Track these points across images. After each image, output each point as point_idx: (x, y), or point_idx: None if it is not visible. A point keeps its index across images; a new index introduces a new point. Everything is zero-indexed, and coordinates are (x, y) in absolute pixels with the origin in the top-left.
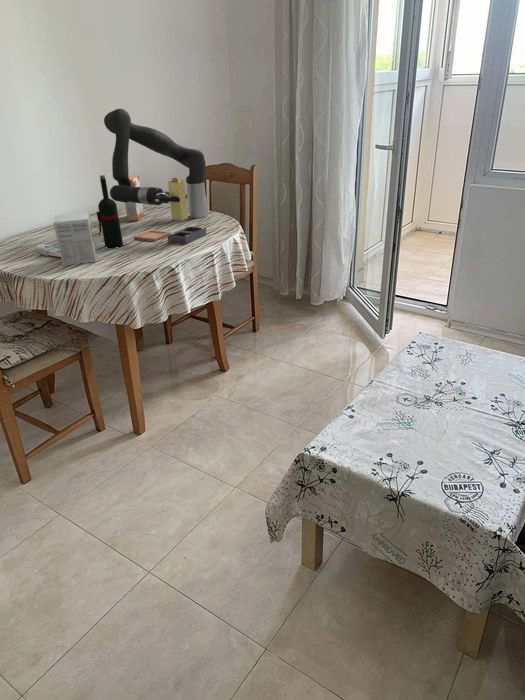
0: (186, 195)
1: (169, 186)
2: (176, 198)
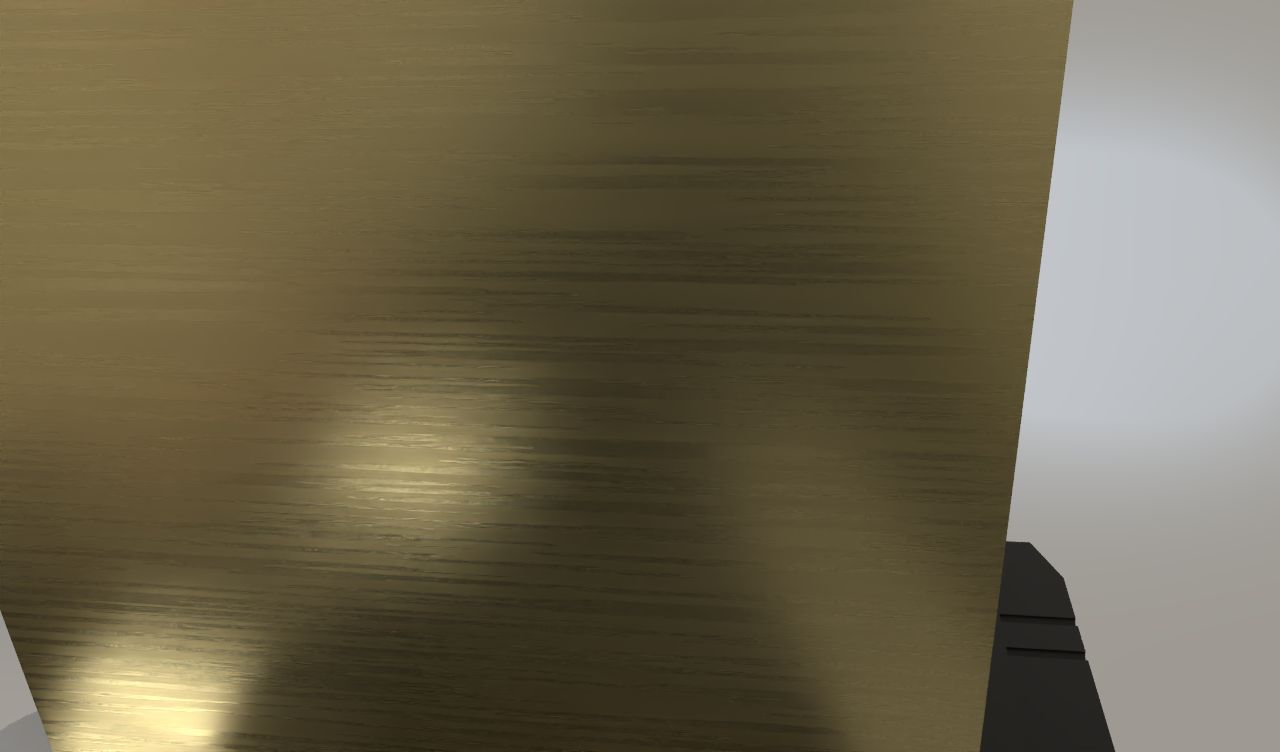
0: None
1: (1013, 210)
2: (1044, 565)
